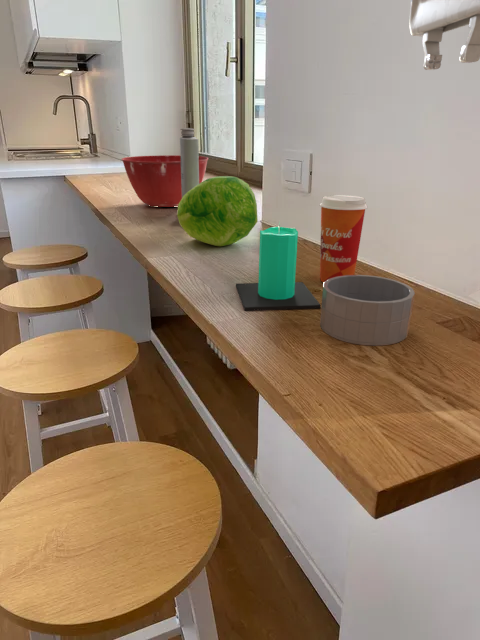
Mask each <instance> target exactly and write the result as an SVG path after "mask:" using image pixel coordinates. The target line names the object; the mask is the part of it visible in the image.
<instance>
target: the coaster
mask: <svg viewBox="0 0 480 640" xmlns="http://www.w3.org/2000/svg"><path fill="white" fill-rule="evenodd" d="M235 288H236V291H237V294H238V296H239V299H240V302H241V305H242V307H243V309H244V311H245V312H248V311H250V312H251V311H252V312H254V311H282V310H283V311H287V310H311V309H312V310H313V309H314V310H318V309H320V310H321V306H322V304H321V303H320V302H319V301H318V300H317V299H316V297H315V296H314V295H313V293H312V292H311V291H310V289H309V288H308V287H307V286H306V284H305V283H304V282H303V281H295V292H294V295H293V297H291V298H288V299H281V300H274V299H267V298H264V297H261V296H260V295H259V294H258V282H244V283H243V282H241V283H235Z"/></svg>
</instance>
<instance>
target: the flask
mask: <svg viewBox="0 0 480 640" xmlns="http://www.w3.org/2000/svg"><path fill="white" fill-rule="evenodd" d="M179 131H180V137H179V147H180V149H179V152H180V154H179V155H181V189H182V198H183V196H184V195H185V194H186V193H187V192H188V191H190V190H191V189H192V188H194V187H195V186H197V185H198V184H199V156H200V155H199V154H200V153H199V152H200V151H199V147H200V146H199V138H197V137H196V136H195V128H192V127H183V128H180V129H179Z"/></svg>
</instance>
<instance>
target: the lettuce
mask: <svg viewBox="0 0 480 640" xmlns="http://www.w3.org/2000/svg"><path fill="white" fill-rule="evenodd" d="M176 216H177V220H178V223H179V225H180V227H182V229H183V230H184V232H185V233H186V234H187V236H189V237H190V238H193V239H194V240H196V241H198V242H201V243H204V244H208V245H211V246H214V247H224V246H229V245H233V244H235V243H236V242H239V241H240V240H243V239H244V238H246V237H247V236H248V235H249V234H250V233H251V231H252V230H253V229H254V227H255V226H256V225H257V223H258V204H257V200H256V195H255V193H254V191H253V189H252V188H251V186H250V185H249V183H248V182H246V181H244V180H243V179H241V178H239V177H237V176H233V175H230V176H229V175H224V176H219V175H217V176H213V177H209V178H207V179H205V180H203V181H202V182H201V183H200V184H198V185H197V186H195V187H194V188H192V189H191V190H190V191H188V192H187V193H186V194H185V195H184V196H183V198H182V199H181V201H180V203H179V204H178V207H177V212H176Z"/></svg>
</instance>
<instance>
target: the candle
mask: <svg viewBox="0 0 480 640" xmlns="http://www.w3.org/2000/svg"><path fill="white" fill-rule="evenodd" d="M298 241H299V231H298V230H297V229H296V228H295V227H285V226H281V220H279V221H278V226H271V227H267V228H265V229H263V230H261V229H260V230H259V250H258V251H259V252H258V281H257V283H258V294H259V295H260V296H261V297H264V298H267V299H274V300H281V299H288V298H291V297H293V295H294V292H295V282H296V275H297V274H296V272H297V258H298Z"/></svg>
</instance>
